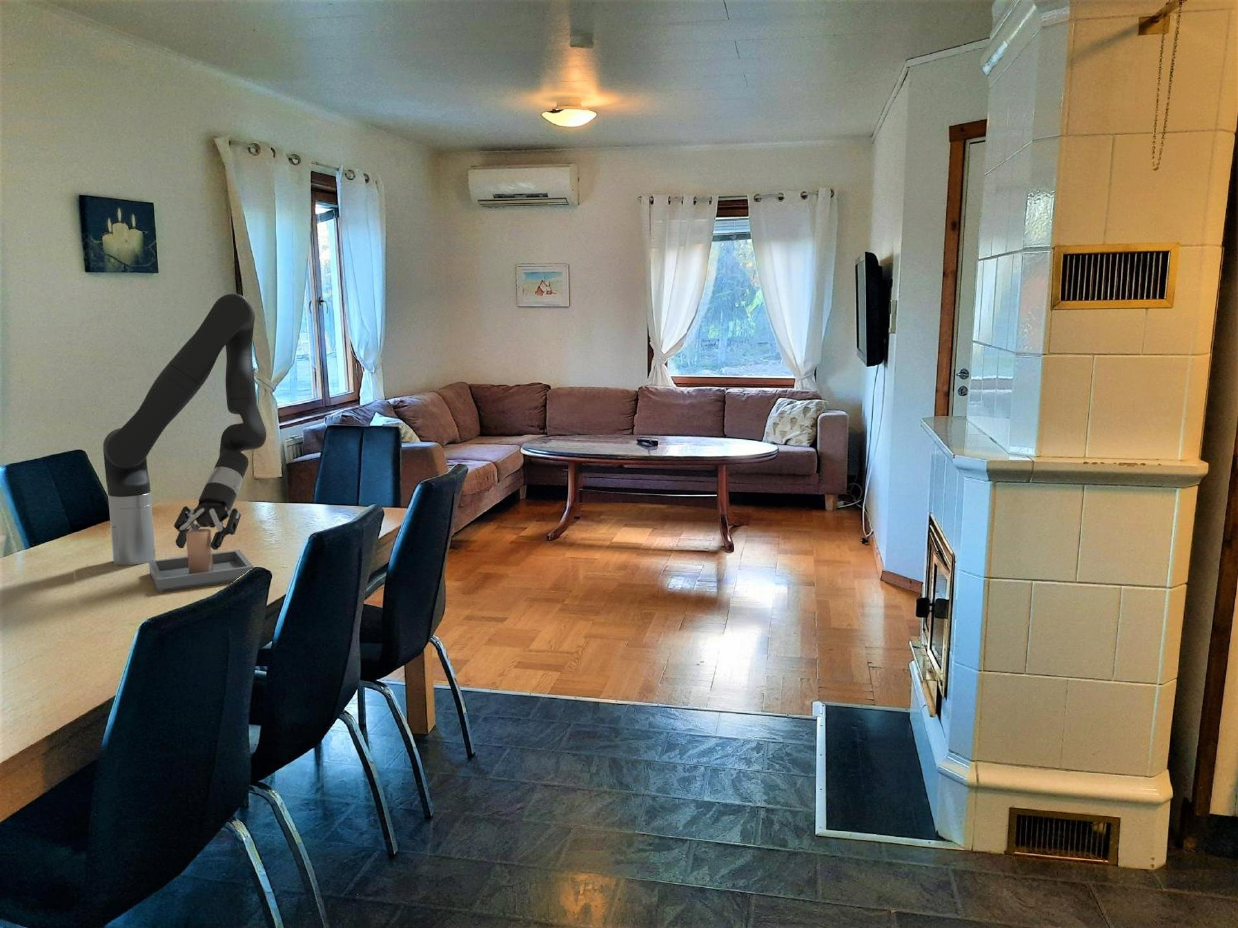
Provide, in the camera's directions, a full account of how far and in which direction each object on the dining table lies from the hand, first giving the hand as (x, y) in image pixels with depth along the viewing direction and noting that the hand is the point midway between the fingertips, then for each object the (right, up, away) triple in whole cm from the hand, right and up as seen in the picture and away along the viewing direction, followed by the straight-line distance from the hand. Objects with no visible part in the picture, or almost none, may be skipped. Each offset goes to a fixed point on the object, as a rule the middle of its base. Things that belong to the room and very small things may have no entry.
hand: (196, 547), depth 204 cm
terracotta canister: (0, -6, +2) cm, 7 cm away
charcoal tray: (0, -7, +2) cm, 7 cm away
